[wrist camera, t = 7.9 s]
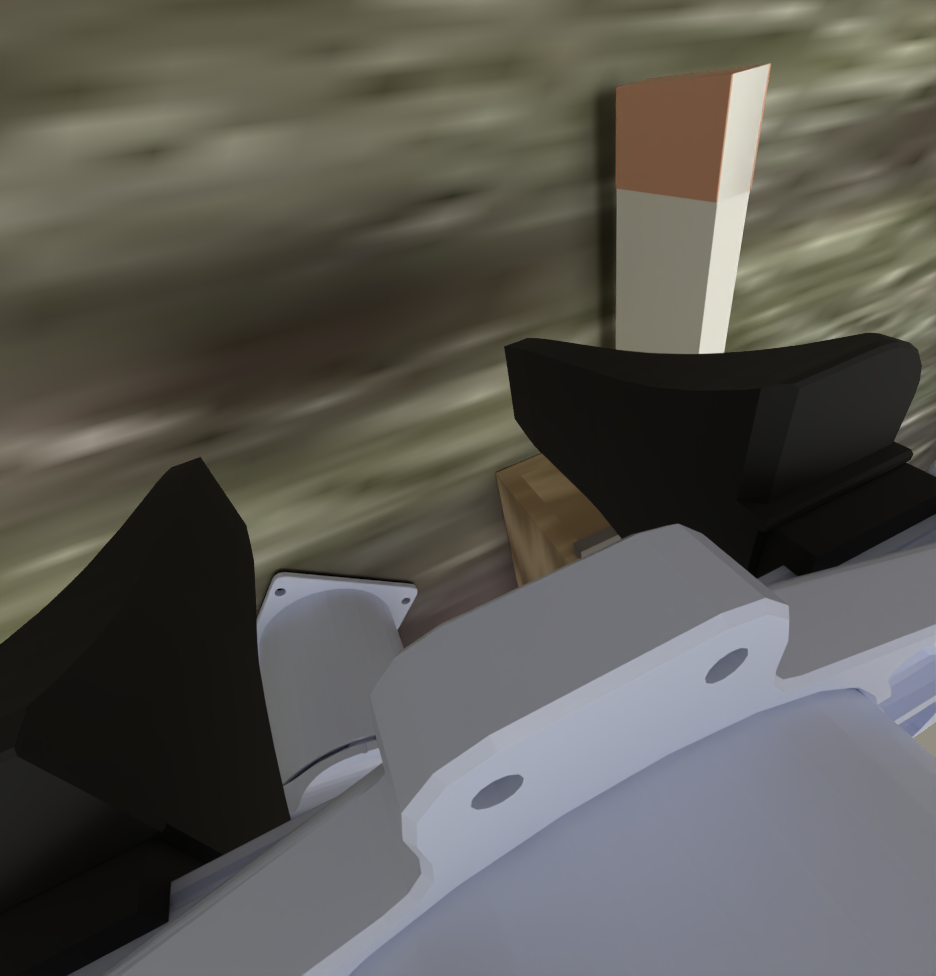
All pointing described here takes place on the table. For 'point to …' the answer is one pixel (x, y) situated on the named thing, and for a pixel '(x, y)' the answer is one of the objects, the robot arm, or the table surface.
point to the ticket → (683, 204)
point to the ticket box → (548, 519)
